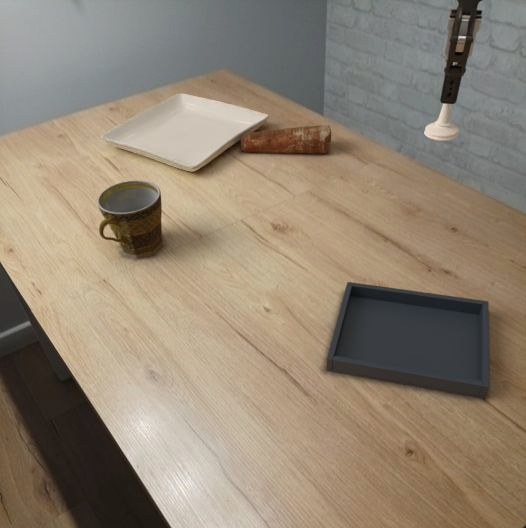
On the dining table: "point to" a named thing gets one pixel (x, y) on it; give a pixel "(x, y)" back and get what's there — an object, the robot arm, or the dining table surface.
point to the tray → (412, 339)
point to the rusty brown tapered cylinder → (288, 140)
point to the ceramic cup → (133, 217)
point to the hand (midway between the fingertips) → (448, 98)
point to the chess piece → (442, 125)
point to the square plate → (185, 130)
